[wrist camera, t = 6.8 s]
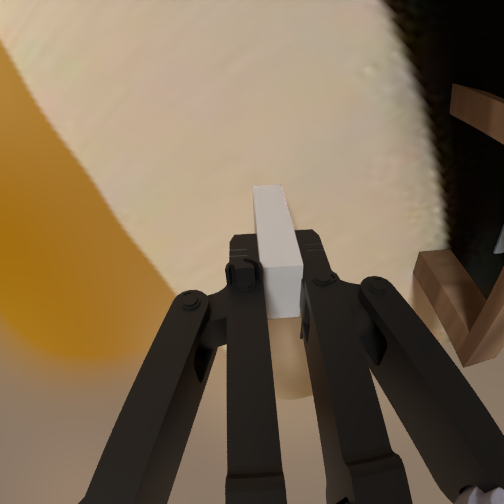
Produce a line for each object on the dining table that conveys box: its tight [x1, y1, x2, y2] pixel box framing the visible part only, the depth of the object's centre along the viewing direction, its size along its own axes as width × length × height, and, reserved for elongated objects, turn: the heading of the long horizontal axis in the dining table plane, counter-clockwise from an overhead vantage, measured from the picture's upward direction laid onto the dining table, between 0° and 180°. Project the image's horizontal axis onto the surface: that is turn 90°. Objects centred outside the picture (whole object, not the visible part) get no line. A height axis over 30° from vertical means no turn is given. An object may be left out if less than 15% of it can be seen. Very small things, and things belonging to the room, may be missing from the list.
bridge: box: [413, 84, 504, 368], centre depth 15 cm, size 3×14×9 cm, turn 3°
